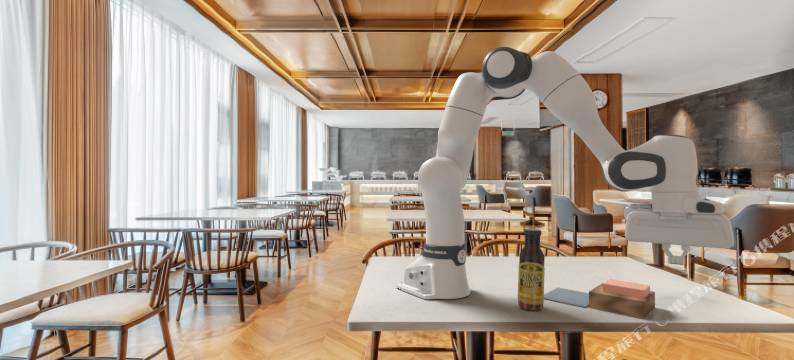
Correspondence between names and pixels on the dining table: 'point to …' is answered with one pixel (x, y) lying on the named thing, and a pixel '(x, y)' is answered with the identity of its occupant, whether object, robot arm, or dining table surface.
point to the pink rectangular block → (626, 288)
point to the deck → (621, 303)
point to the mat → (568, 297)
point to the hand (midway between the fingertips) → (676, 264)
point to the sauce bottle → (531, 272)
